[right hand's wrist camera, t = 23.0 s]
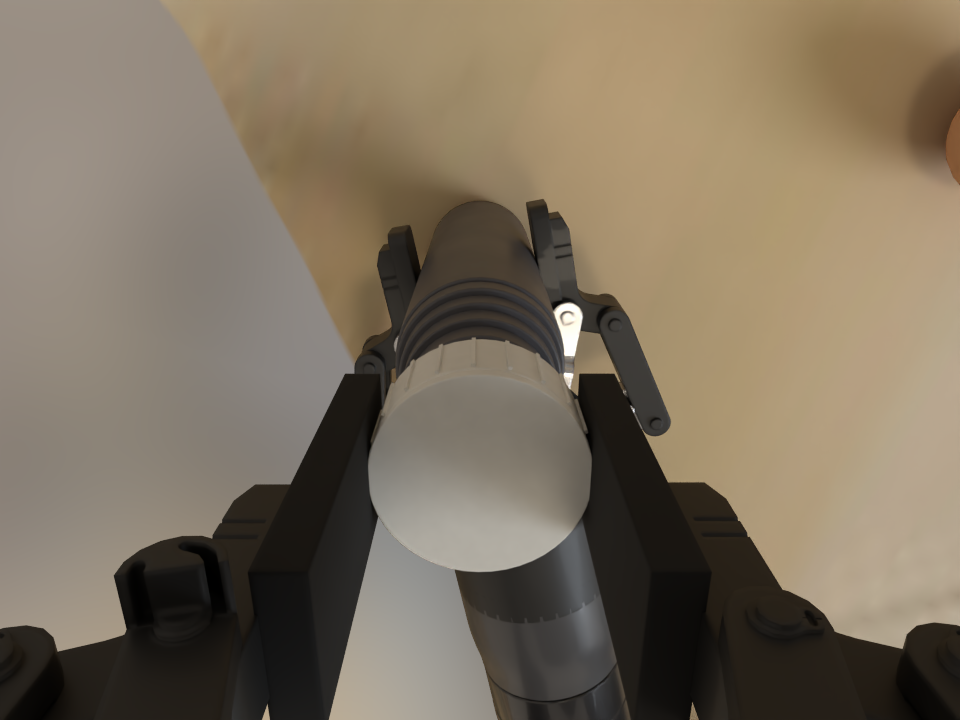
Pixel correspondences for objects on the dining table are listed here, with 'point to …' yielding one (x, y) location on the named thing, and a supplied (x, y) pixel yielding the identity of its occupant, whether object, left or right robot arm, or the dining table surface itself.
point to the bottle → (480, 289)
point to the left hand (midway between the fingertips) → (466, 218)
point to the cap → (480, 457)
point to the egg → (954, 147)
